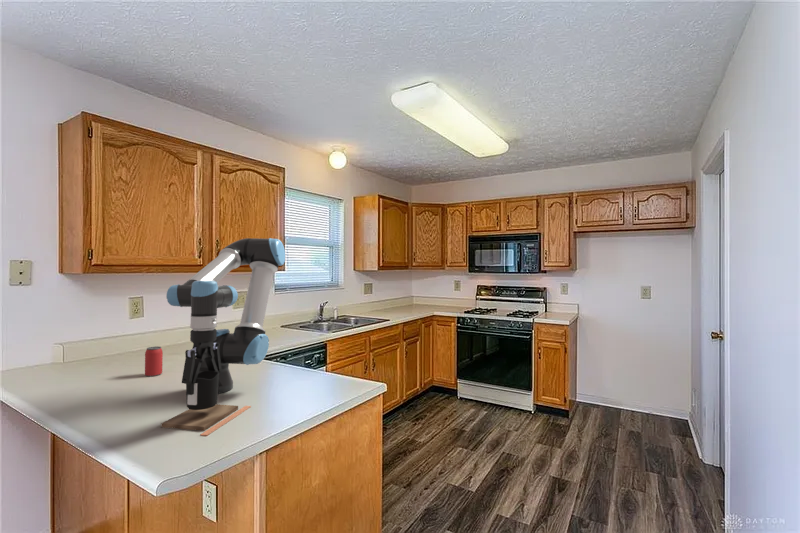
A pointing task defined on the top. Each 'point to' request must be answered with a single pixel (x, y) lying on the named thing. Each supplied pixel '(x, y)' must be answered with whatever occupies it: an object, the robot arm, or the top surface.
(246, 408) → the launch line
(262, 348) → the robot arm
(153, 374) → the beer can
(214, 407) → the board
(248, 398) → the top surface
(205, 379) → the pen holder
